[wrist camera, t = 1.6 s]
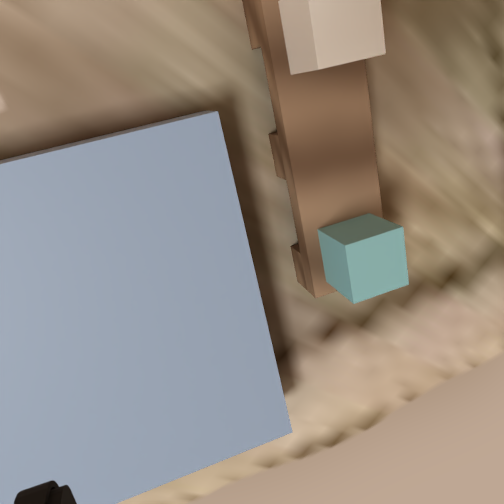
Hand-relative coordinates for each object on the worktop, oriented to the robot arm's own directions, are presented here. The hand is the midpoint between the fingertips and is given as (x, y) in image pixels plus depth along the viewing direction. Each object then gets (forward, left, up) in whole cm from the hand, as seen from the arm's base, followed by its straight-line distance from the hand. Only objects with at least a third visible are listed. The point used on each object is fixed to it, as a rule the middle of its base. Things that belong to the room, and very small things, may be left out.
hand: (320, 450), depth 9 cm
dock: (+6, -6, -24) cm, 26 cm away
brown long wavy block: (-2, +11, -24) cm, 27 cm away
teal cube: (+5, +11, -21) cm, 24 cm away
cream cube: (-9, +11, -21) cm, 25 cm away
